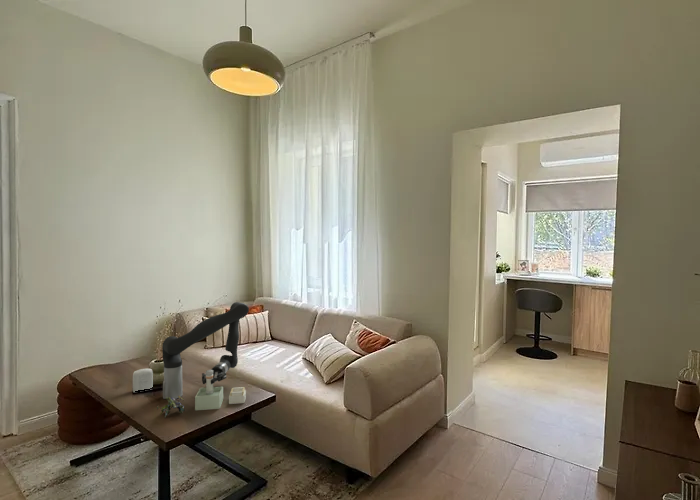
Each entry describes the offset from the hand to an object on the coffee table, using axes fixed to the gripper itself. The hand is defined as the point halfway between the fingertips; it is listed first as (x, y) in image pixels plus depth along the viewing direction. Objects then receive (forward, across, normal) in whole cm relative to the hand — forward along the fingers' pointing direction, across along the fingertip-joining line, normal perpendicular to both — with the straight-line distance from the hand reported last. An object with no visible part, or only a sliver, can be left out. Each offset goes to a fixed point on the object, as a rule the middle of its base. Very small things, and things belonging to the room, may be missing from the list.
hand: (207, 382), depth 200 cm
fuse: (-3, 0, +7) cm, 8 cm away
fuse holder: (-8, +13, +13) cm, 20 cm away
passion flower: (+10, -14, +13) cm, 22 cm away
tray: (-3, 0, +13) cm, 13 cm away
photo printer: (-21, -46, +13) cm, 52 cm away
